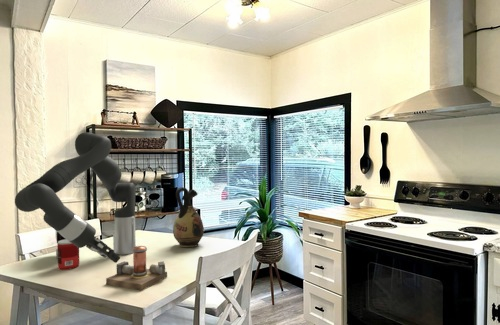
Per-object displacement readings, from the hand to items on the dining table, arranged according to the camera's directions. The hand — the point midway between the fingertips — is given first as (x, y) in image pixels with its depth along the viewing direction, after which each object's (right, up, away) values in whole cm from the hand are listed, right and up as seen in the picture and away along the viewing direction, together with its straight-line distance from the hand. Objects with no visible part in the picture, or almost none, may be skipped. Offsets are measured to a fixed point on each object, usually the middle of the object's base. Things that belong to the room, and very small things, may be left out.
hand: (112, 257), depth 119 cm
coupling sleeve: (+7, -8, +7) cm, 13 cm away
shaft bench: (+6, -10, +8) cm, 14 cm away
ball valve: (-37, -11, +39) cm, 55 cm away
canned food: (-28, -11, +25) cm, 39 cm away
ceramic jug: (+16, -10, +57) cm, 60 cm away
